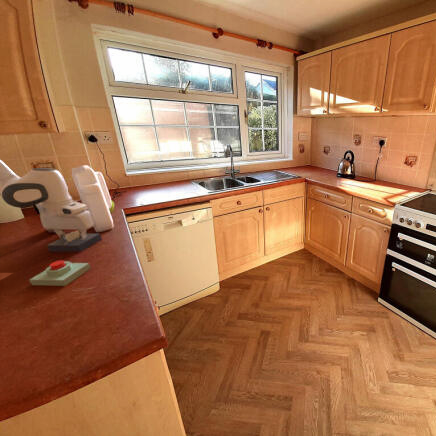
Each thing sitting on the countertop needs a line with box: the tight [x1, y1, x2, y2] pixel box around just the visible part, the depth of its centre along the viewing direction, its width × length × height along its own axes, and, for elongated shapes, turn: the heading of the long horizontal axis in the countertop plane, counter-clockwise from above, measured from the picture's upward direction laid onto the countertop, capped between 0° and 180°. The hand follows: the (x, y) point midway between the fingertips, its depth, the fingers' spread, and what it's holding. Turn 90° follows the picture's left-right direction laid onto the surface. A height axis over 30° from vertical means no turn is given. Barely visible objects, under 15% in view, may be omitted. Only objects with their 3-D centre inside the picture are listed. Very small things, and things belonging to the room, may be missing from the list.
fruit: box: [109, 200, 115, 214], centre depth 139 cm, size 9×9×10 cm
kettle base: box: [29, 260, 92, 287], centre depth 83 cm, size 12×10×4 cm
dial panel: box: [46, 233, 103, 253], centre depth 105 cm, size 14×11×3 cm
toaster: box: [70, 164, 114, 233], centre depth 121 cm, size 27×11×30 cm, turn 44°
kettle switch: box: [49, 259, 66, 270], centre depth 82 cm, size 4×4×2 cm
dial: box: [65, 230, 81, 242], centre depth 104 cm, size 5×1×3 cm, turn 175°
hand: (73, 237), depth 104 cm, fingers open, 8 cm apart
